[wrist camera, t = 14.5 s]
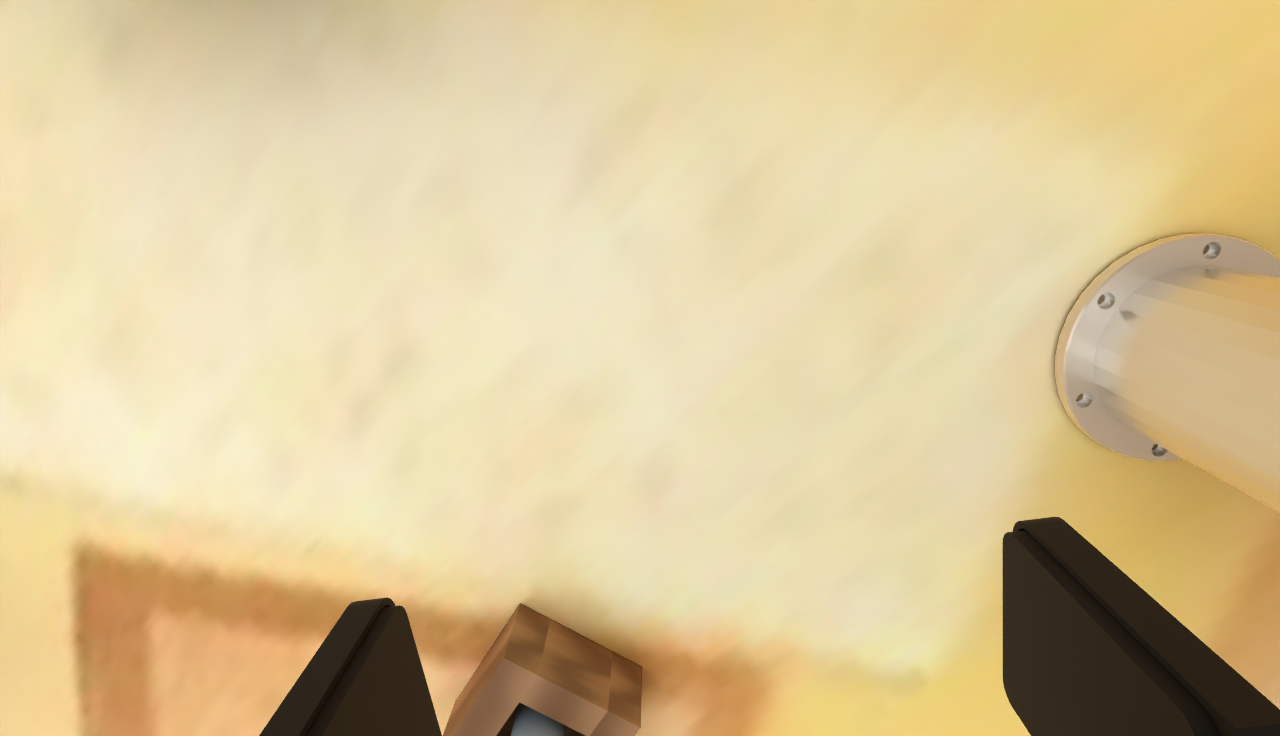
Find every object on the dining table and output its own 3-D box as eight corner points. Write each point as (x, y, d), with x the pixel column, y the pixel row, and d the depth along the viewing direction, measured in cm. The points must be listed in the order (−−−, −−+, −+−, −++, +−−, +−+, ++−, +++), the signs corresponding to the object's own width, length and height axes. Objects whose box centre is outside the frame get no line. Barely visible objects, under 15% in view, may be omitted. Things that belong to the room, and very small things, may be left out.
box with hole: (641, 667, 45) (640, 727, 40) (572, 760, 47) (563, 827, 42) (520, 603, 44) (503, 658, 39) (455, 701, 46) (432, 765, 41)
